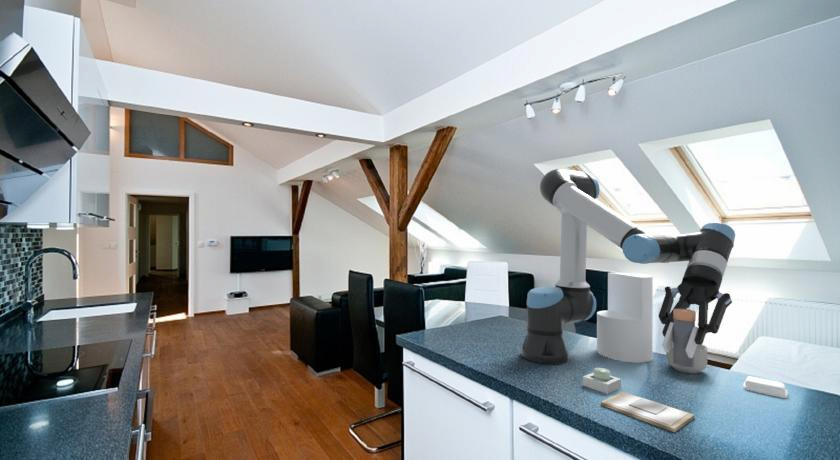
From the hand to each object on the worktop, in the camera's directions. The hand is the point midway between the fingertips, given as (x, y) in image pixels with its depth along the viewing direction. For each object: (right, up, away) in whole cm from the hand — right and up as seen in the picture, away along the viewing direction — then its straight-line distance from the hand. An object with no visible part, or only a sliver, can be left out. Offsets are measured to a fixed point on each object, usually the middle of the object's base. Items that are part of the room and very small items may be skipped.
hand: (677, 351), depth 85 cm
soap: (+36, -17, +19) cm, 44 cm away
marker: (+3, -4, +2) cm, 5 cm away
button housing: (-7, -16, +20) cm, 27 cm away
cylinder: (+14, -17, +49) cm, 54 cm away
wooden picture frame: (-4, -16, +5) cm, 17 cm away
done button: (-7, -15, +20) cm, 26 cm away
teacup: (+26, -17, +36) cm, 47 cm away
